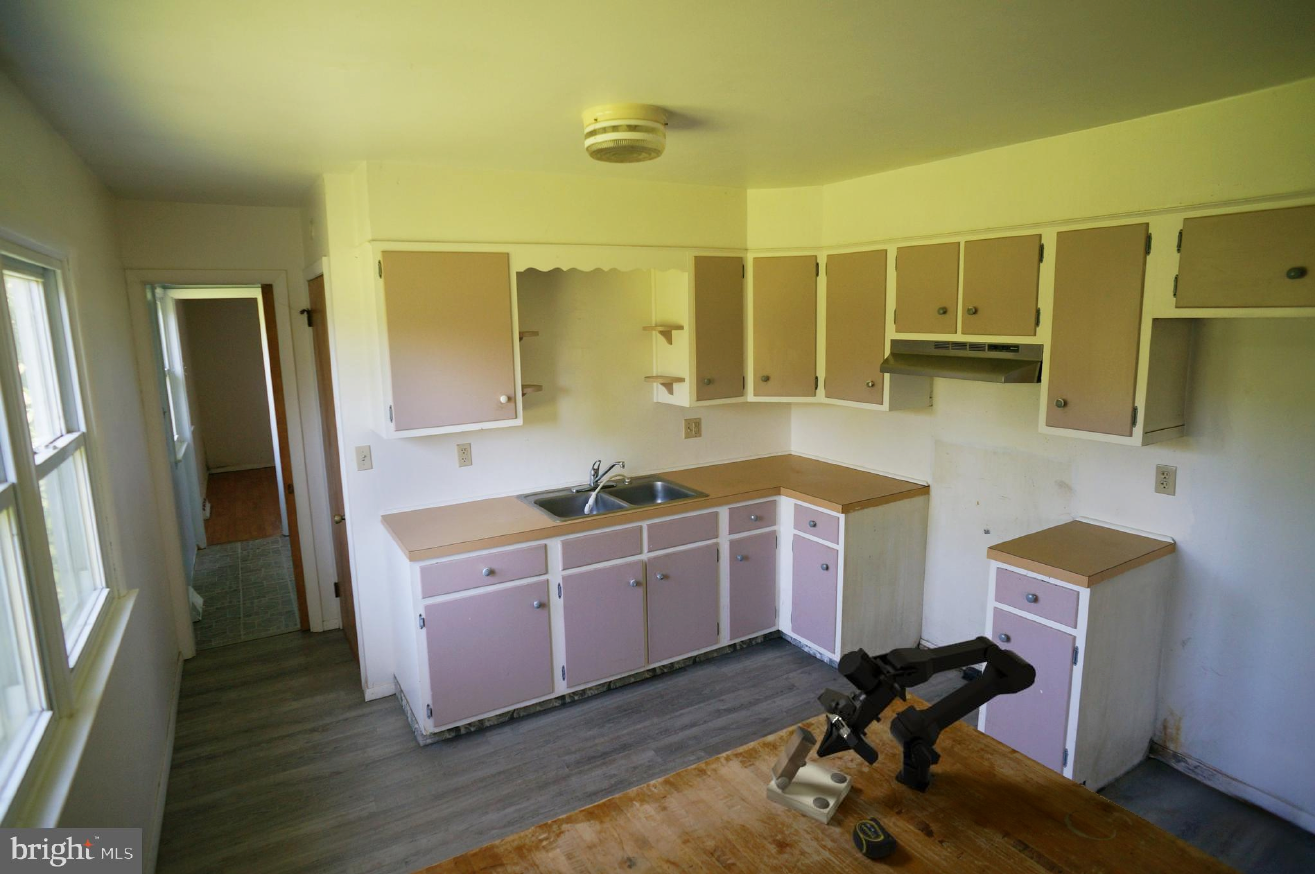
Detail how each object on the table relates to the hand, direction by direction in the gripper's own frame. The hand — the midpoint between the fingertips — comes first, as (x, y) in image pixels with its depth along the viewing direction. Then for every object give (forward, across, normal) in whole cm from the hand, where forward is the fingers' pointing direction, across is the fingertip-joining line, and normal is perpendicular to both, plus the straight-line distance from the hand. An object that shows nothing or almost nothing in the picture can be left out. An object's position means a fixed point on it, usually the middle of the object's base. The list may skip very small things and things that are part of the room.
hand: (818, 755), depth 143 cm
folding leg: (+10, 0, -3) cm, 10 cm away
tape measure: (+3, +16, +10) cm, 19 cm away
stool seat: (+7, 0, +5) cm, 9 cm away
